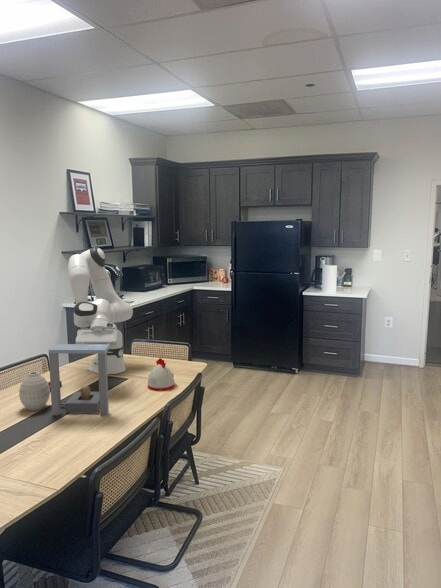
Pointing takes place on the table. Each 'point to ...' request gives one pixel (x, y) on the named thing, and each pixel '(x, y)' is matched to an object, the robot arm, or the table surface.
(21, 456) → the table surface
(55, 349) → the socket station
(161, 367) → the kitchen timer
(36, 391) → the vase
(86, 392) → the peg
